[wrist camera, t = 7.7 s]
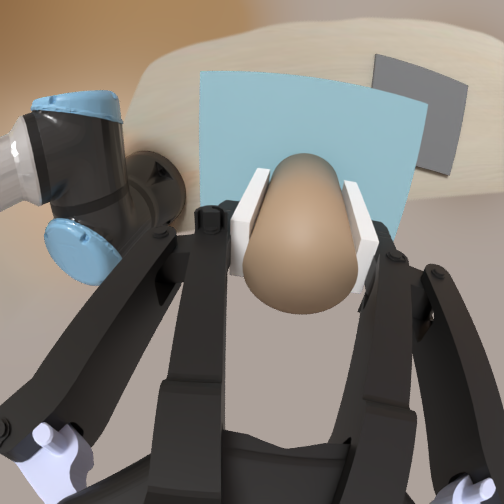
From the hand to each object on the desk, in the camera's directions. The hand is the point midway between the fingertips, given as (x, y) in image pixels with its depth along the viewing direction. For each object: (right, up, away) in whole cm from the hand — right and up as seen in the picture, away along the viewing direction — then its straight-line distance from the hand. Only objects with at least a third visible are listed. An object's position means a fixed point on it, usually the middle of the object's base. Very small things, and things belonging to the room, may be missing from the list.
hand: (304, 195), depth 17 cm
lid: (0, +2, +2) cm, 3 cm away
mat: (+22, +17, +18) cm, 33 cm away
